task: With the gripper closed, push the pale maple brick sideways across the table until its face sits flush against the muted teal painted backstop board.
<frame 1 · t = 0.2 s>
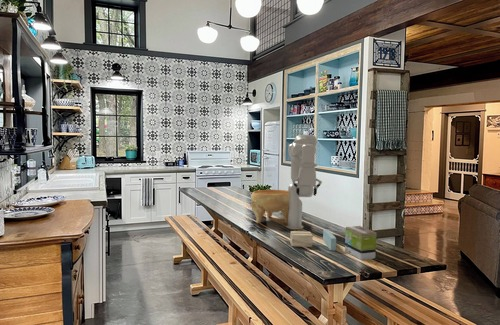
hand: (306, 195, 215), 31 cm above the table, tool pointing down, fingers open, 9 cm apart
maple brick: (300, 244, 221), on the table
backstop board: (329, 245, 221), on the table
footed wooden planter: (272, 221, 280), on the table
tea box: (359, 255, 205), on the table
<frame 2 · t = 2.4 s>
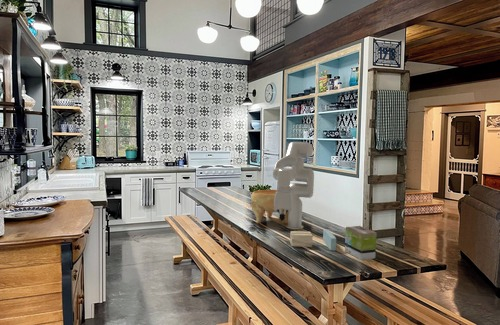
hand: (281, 220, 219), 14 cm above the table, tool pointing down, fingers closed
nothing on the table moved.
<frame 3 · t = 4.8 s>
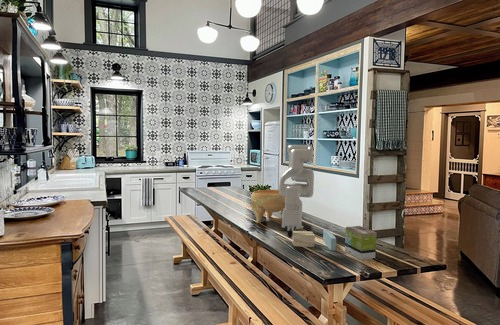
hand: (289, 237, 220), 4 cm above the table, tool pointing down, fingers closed
maple brick: (303, 244, 221), on the table, touching gripper
everything else where it was.
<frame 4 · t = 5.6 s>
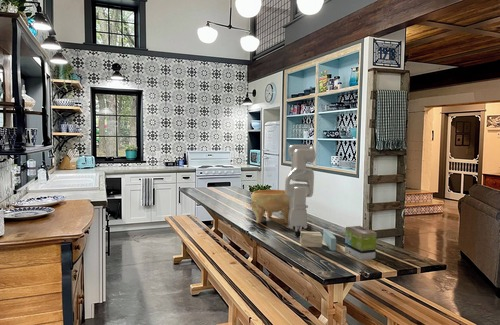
hand: (297, 237, 220), 4 cm above the table, tool pointing down, fingers closed
maple brick: (310, 244, 221), on the table, touching gripper
everything else where it was.
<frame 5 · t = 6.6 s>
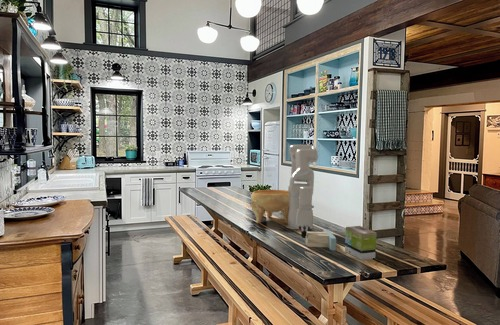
hand: (303, 237, 220), 4 cm above the table, tool pointing down, fingers closed
maple brick: (316, 244, 221), on the table, touching backstop board, gripper
everything else where it was.
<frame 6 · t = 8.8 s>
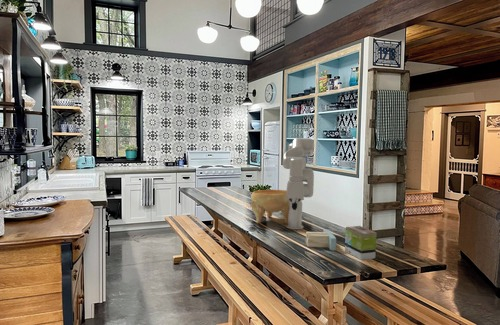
hand: (294, 209, 220), 21 cm above the table, tool pointing down, fingers closed
maple brick: (316, 245, 221), on the table
everything else where it was.
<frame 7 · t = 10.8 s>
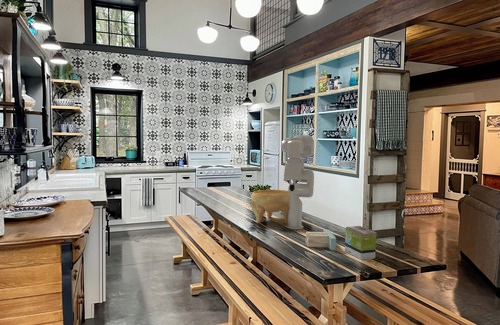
hand: (291, 190, 225), 31 cm above the table, tool pointing down, fingers closed
nothing on the table moved.
at the end: maple brick 0.8 cm from the target spot on the table beside the backstop board, on the table; maple brick tilted 0° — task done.
